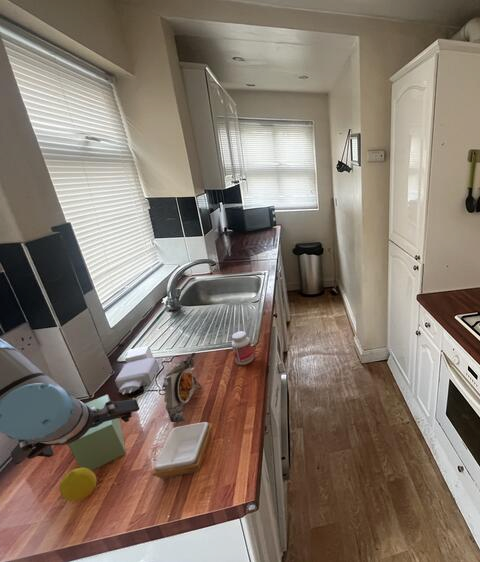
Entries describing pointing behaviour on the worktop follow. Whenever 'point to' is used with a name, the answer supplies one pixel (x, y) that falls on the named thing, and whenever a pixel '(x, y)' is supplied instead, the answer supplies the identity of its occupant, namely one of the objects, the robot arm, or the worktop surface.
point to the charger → (136, 375)
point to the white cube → (138, 354)
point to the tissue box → (99, 441)
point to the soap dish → (183, 450)
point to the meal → (179, 388)
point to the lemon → (78, 484)
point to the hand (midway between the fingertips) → (90, 432)
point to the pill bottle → (242, 348)
